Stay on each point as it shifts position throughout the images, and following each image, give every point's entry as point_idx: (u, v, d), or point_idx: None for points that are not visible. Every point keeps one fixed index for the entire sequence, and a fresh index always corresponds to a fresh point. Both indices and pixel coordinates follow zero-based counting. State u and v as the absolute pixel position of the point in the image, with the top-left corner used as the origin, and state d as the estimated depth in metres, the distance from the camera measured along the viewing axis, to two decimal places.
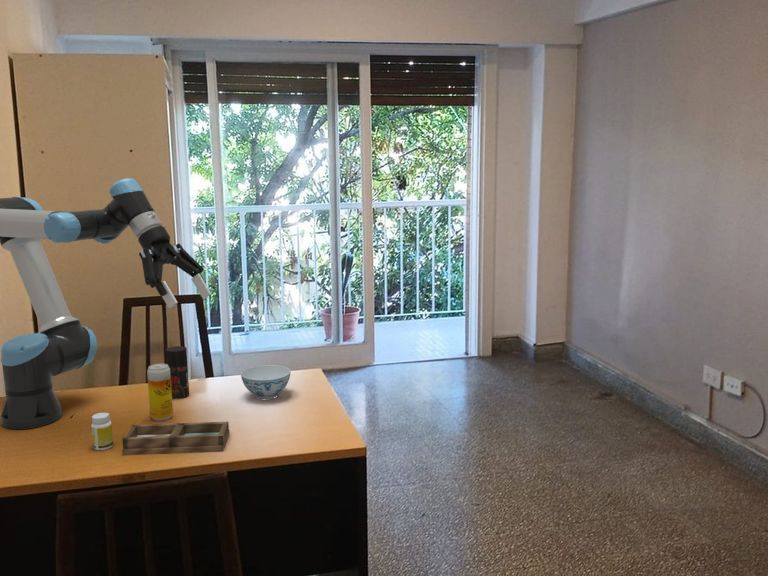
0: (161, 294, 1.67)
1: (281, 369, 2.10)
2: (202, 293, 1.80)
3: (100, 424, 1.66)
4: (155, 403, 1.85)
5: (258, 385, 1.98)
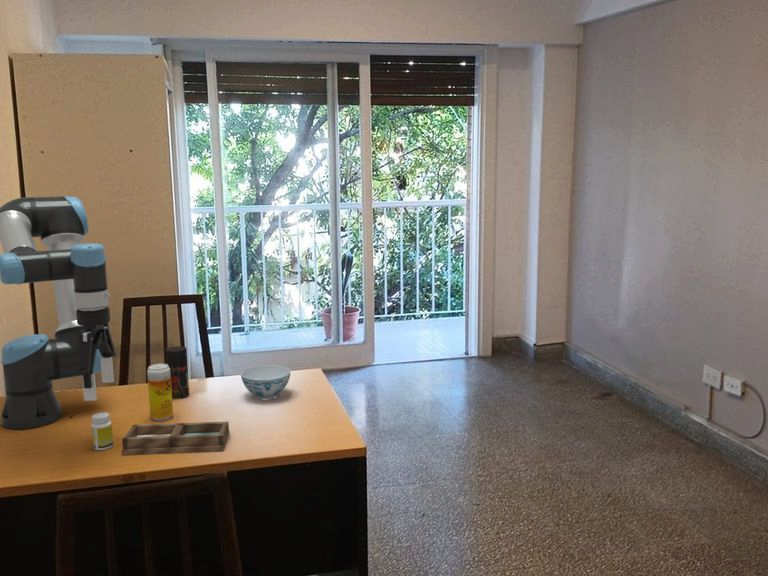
0: (86, 387, 1.58)
1: (281, 369, 2.10)
2: (105, 377, 1.73)
3: (100, 424, 1.66)
4: (155, 403, 1.85)
5: (258, 385, 1.98)
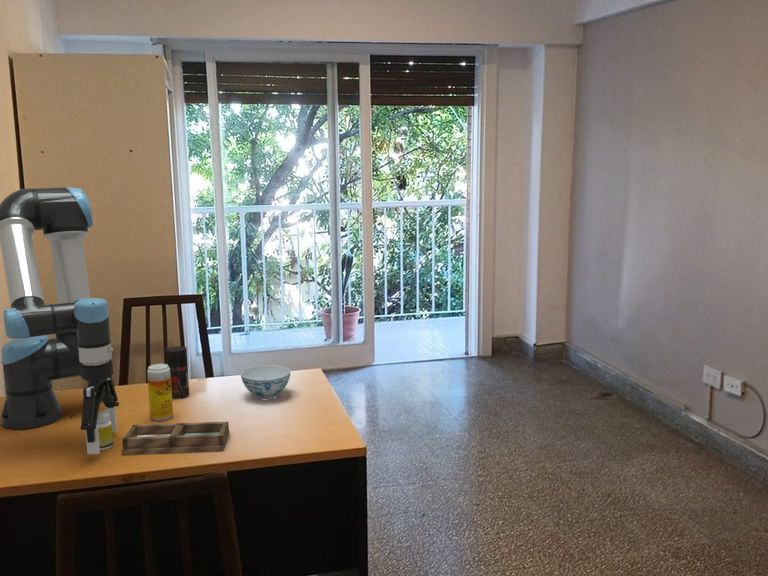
0: (89, 441, 1.60)
1: (281, 369, 2.10)
2: None
3: (100, 424, 1.66)
4: (155, 403, 1.85)
5: (258, 385, 1.98)
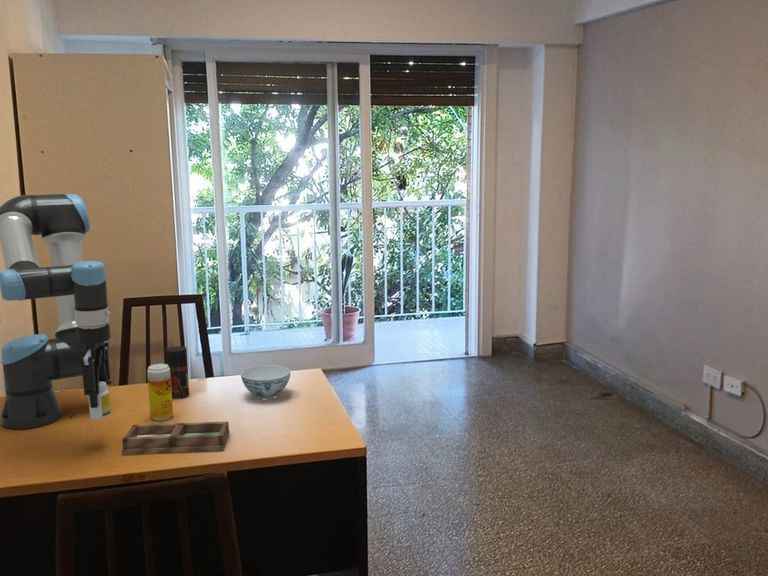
0: (92, 406, 1.63)
1: (281, 369, 2.10)
2: None
3: None
4: (155, 403, 1.85)
5: (258, 385, 1.98)
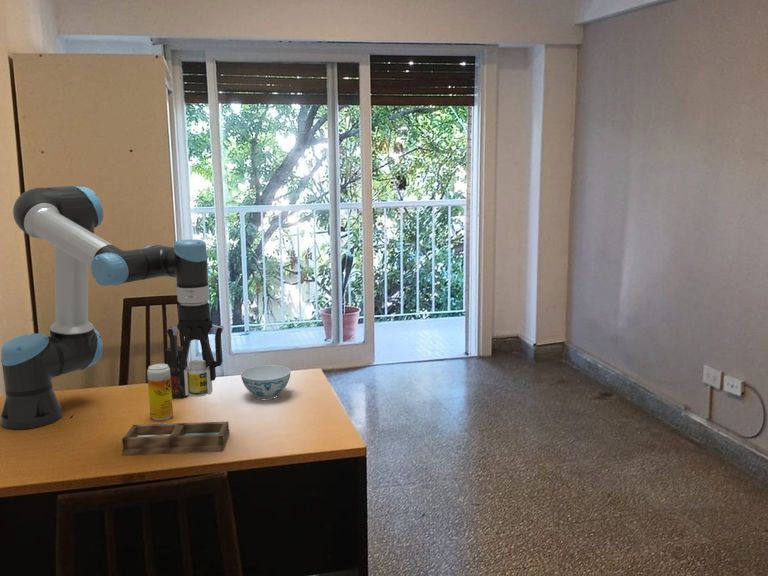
0: None
1: (281, 369, 2.10)
2: None
3: (190, 369, 1.67)
4: (155, 403, 1.85)
5: (258, 385, 1.98)
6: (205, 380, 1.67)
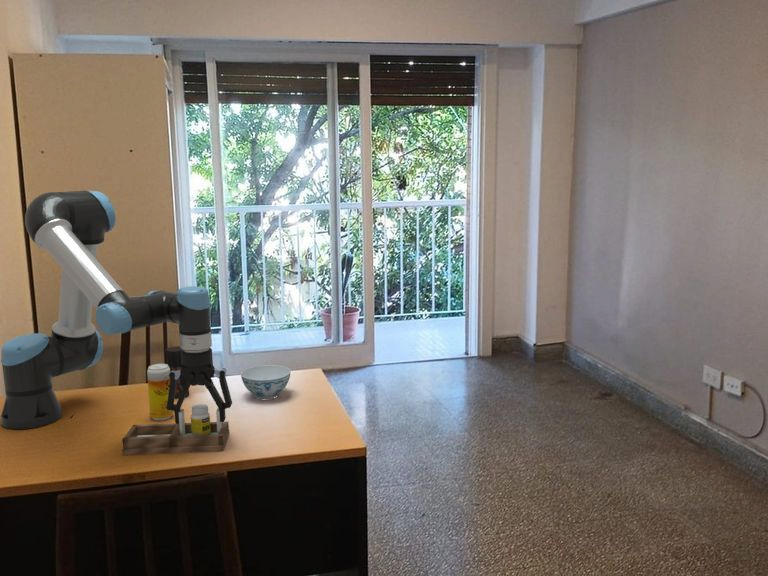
0: None
1: (281, 369, 2.10)
2: None
3: (192, 414, 1.69)
4: (155, 403, 1.85)
5: (258, 385, 1.98)
6: (207, 425, 1.69)
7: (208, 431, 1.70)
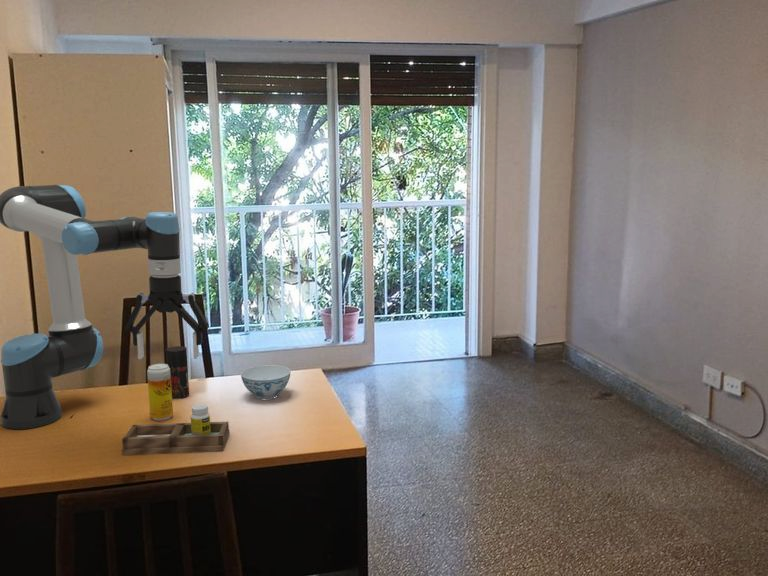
0: None
1: (281, 369, 2.10)
2: None
3: (192, 414, 1.69)
4: (155, 403, 1.85)
5: (258, 385, 1.98)
6: (207, 425, 1.69)
7: (208, 431, 1.70)
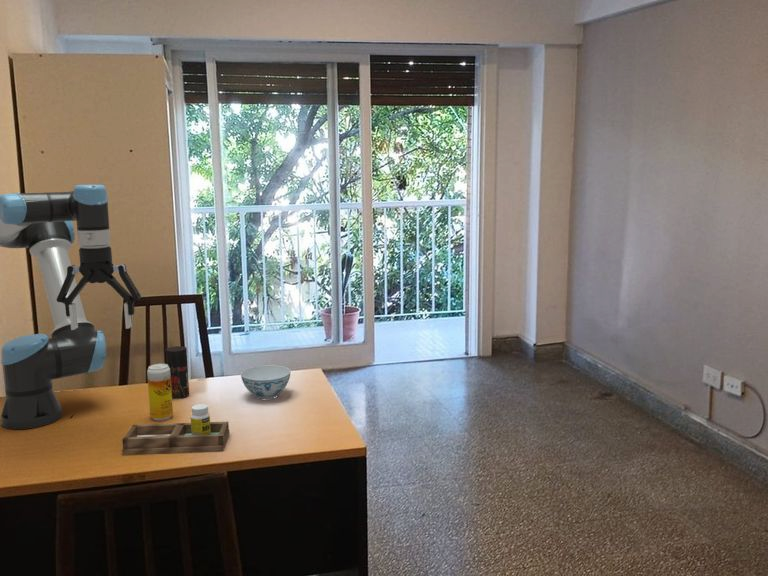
0: None
1: (281, 369, 2.10)
2: None
3: (192, 414, 1.69)
4: (155, 403, 1.85)
5: (258, 385, 1.98)
6: (207, 425, 1.69)
7: (208, 431, 1.70)
